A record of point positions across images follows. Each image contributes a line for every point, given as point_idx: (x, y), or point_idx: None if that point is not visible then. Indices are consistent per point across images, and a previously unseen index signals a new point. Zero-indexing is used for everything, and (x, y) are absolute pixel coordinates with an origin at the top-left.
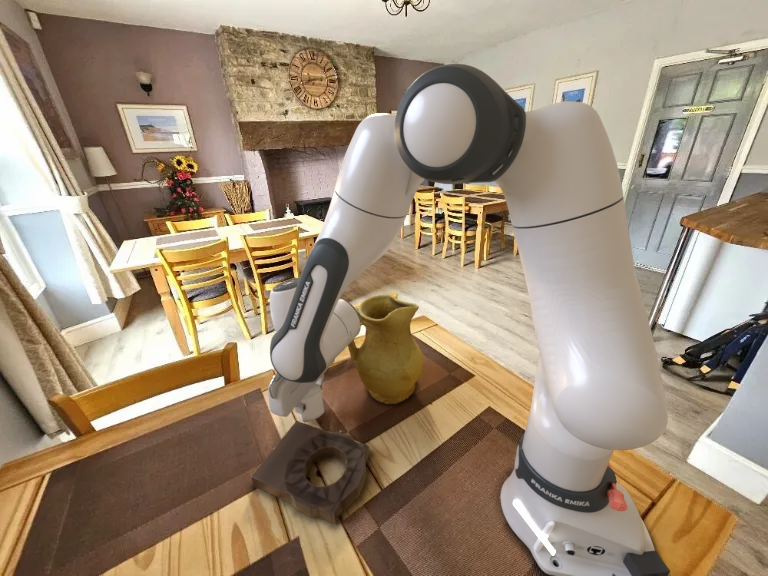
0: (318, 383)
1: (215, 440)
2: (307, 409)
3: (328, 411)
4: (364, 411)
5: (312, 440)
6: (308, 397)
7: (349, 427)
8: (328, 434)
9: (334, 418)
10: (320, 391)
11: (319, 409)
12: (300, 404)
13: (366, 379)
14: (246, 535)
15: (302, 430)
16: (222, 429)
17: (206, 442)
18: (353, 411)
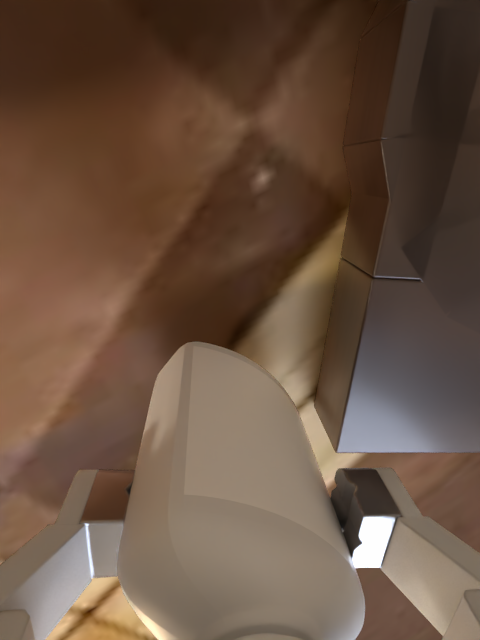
0: (77, 556)
1: (413, 618)
2: (306, 452)
3: (145, 324)
4: (34, 63)
5: (464, 293)
6: (325, 547)
7: (217, 127)
8: (410, 209)
9: (182, 263)
10: (188, 489)
11: (230, 377)
12: (471, 571)
13: None
14: None
15: (400, 386)
16: (368, 630)
17: (424, 632)
18: (75, 158)
